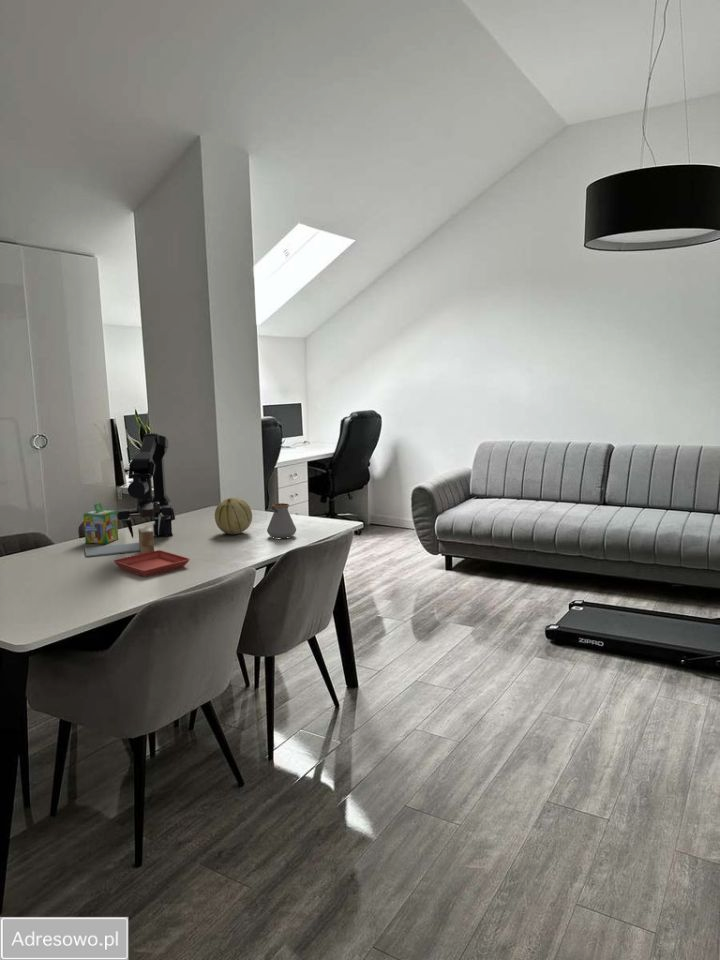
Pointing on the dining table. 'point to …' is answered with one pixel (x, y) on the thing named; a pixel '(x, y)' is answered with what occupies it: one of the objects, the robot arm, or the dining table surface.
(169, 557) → the plant saucer
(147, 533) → the block
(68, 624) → the dining table surface
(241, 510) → the cantaloupe
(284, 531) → the coffee pot
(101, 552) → the mat
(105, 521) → the colorful printed box
